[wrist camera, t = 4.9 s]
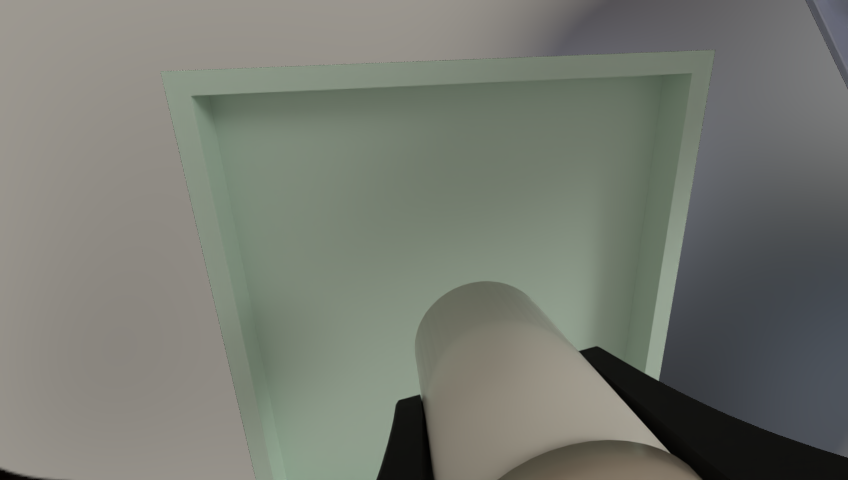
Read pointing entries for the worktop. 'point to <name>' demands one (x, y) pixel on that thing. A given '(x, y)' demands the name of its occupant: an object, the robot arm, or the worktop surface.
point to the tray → (426, 221)
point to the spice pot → (523, 398)
